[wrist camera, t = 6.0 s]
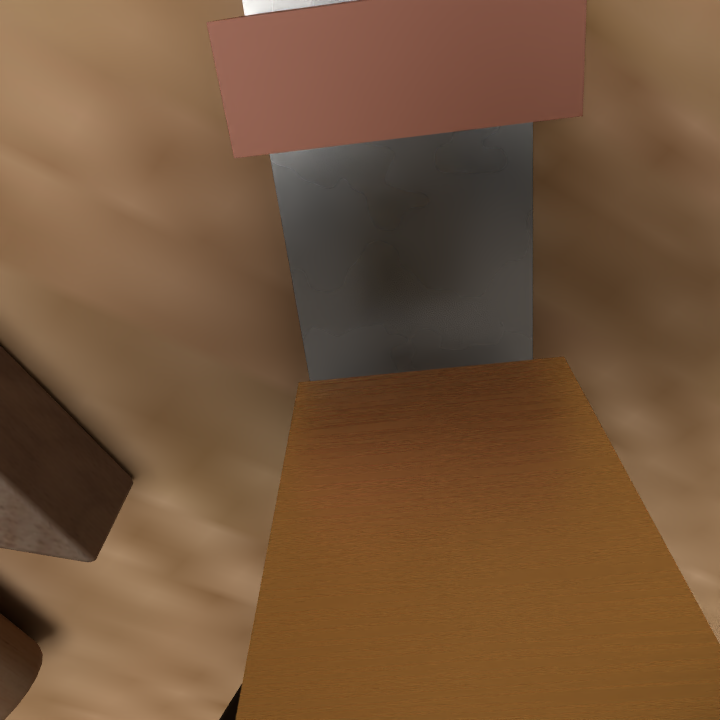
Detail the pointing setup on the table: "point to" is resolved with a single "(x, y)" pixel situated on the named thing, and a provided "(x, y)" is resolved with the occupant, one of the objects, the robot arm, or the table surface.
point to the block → (468, 561)
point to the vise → (409, 247)
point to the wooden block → (47, 501)
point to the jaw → (396, 70)
